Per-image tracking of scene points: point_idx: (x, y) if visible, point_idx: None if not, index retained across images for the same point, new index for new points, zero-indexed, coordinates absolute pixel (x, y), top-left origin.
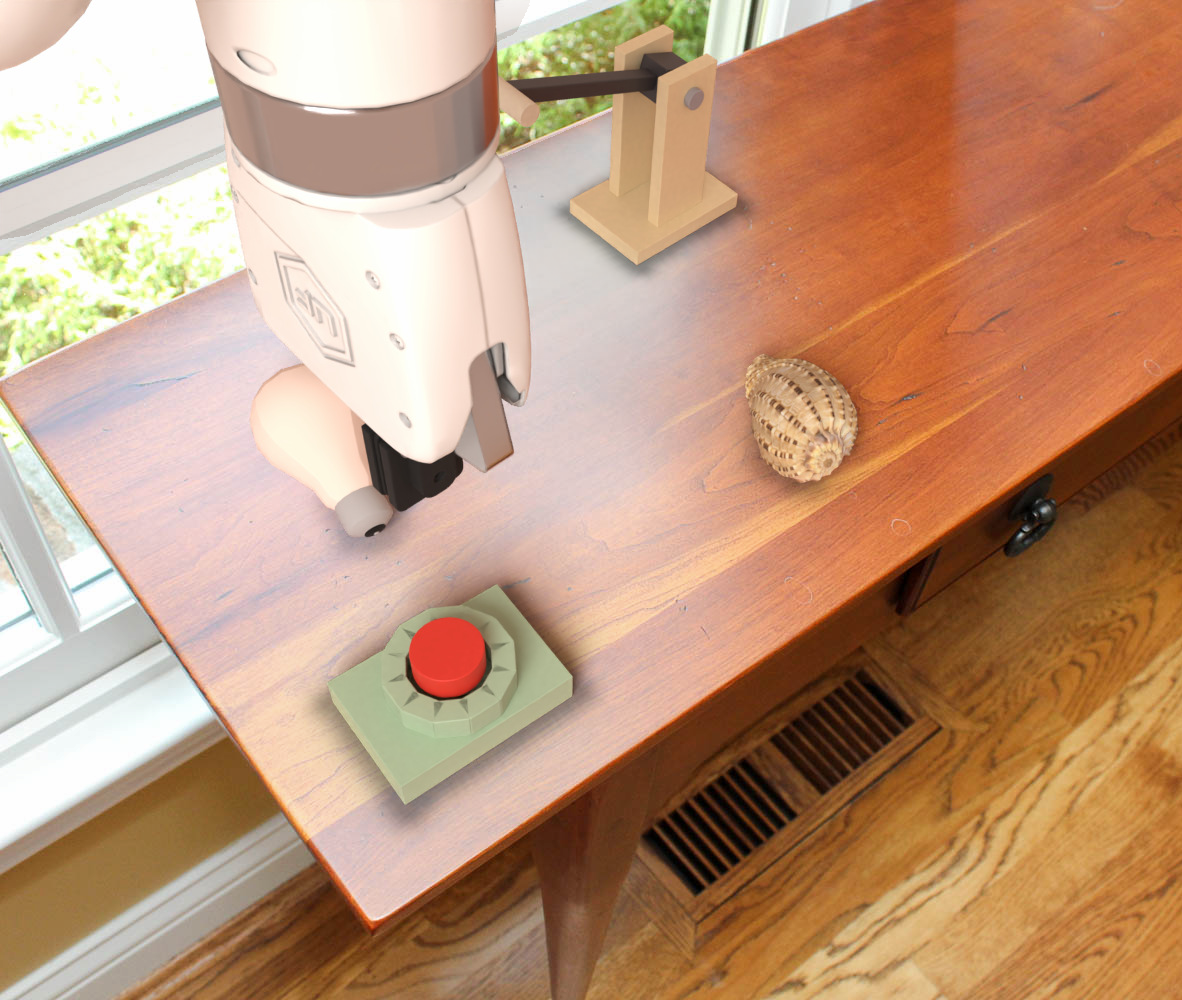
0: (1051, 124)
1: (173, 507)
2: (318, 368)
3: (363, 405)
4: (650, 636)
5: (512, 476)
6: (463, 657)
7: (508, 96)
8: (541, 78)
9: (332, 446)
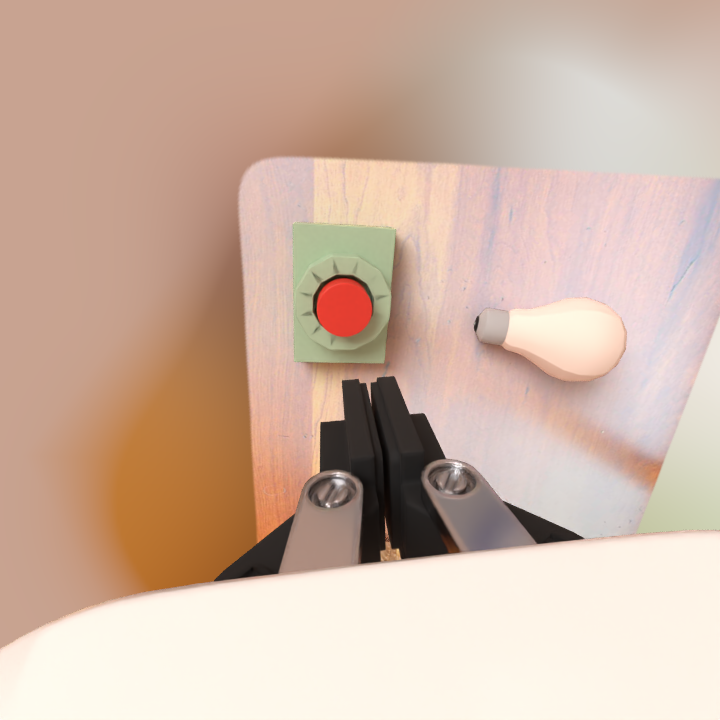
0: None
1: (594, 225)
2: (512, 608)
3: (242, 683)
4: (301, 410)
5: (451, 411)
6: (330, 315)
7: None
8: None
9: (545, 340)
